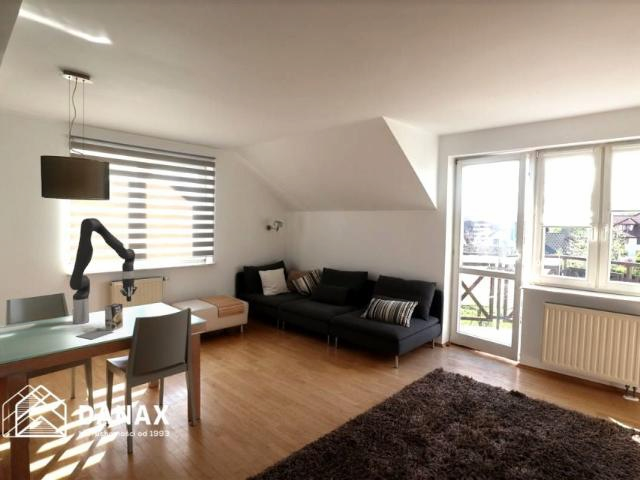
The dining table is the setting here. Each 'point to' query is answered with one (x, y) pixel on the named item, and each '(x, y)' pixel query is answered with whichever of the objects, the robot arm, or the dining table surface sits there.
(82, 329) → the dining table surface
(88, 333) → the mat
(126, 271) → the robot arm
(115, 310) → the coffee box
